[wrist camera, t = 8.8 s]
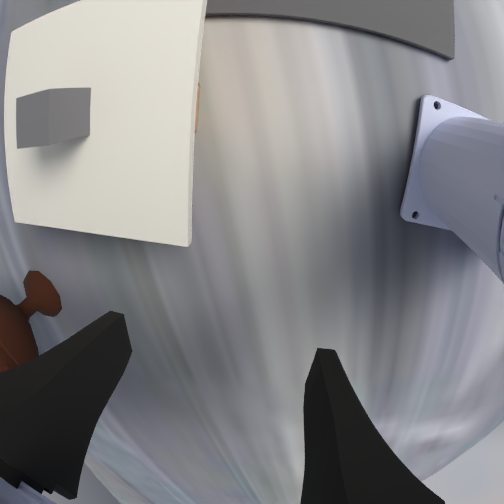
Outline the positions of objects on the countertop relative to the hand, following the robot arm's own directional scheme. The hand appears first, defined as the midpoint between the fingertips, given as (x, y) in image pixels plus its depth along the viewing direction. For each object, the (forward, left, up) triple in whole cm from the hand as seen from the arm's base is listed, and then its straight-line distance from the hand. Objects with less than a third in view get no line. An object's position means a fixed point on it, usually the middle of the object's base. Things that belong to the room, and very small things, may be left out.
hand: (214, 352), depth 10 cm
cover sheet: (+9, -8, -5) cm, 13 cm away
